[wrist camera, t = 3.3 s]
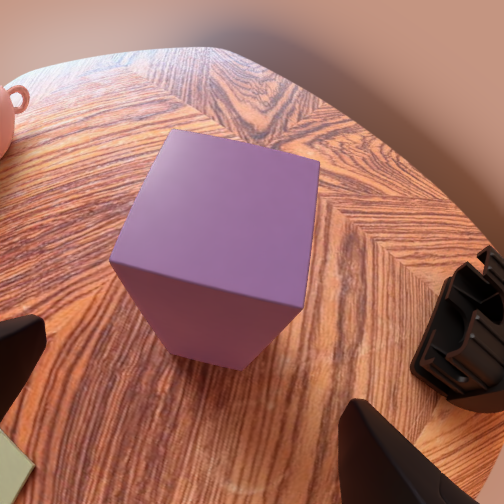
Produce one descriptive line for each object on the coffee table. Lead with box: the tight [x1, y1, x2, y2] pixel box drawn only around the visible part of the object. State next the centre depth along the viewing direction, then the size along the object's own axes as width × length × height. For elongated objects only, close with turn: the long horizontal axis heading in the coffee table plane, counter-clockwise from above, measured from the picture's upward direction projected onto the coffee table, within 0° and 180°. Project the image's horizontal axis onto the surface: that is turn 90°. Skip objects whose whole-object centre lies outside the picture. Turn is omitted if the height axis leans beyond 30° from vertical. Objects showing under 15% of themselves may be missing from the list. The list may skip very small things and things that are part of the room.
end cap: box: [410, 245, 504, 413], centre depth 18 cm, size 10×7×7 cm
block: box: [109, 129, 320, 371], centre depth 14 cm, size 4×4×13 cm
